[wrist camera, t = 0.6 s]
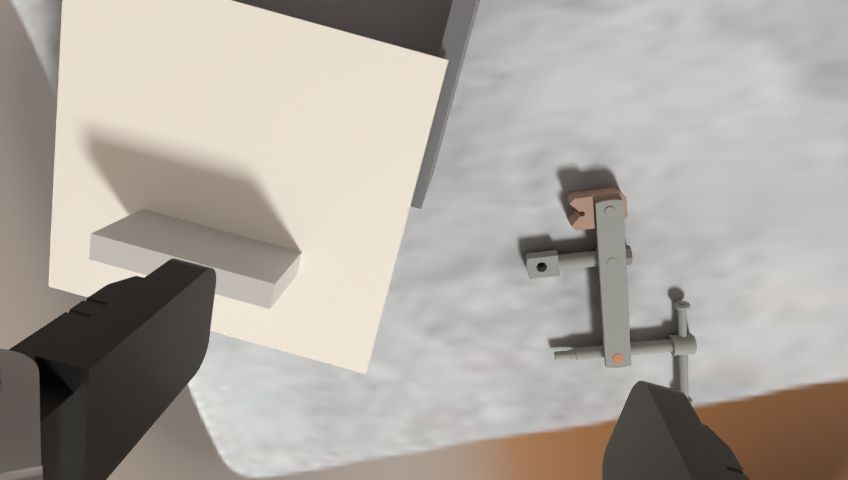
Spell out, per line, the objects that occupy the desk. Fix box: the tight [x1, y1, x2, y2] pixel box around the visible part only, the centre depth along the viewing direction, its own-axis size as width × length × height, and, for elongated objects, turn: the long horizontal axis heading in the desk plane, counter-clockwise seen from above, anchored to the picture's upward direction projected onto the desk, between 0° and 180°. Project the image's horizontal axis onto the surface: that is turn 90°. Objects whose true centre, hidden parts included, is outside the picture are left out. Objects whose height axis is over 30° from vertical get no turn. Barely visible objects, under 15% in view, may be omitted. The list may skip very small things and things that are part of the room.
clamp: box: [525, 187, 697, 404], centre depth 37 cm, size 15×2×10 cm
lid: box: [49, 0, 449, 374], centre depth 26 cm, size 16×17×5 cm
